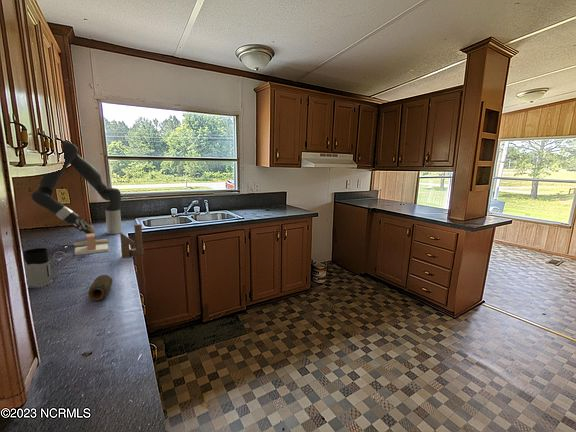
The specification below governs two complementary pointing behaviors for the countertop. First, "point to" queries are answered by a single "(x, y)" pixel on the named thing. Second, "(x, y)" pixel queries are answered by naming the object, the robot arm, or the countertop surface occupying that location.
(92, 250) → the stand
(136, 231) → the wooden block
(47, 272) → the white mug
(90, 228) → the bar
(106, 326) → the countertop surface
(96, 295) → the olive brown hollow cylinder
